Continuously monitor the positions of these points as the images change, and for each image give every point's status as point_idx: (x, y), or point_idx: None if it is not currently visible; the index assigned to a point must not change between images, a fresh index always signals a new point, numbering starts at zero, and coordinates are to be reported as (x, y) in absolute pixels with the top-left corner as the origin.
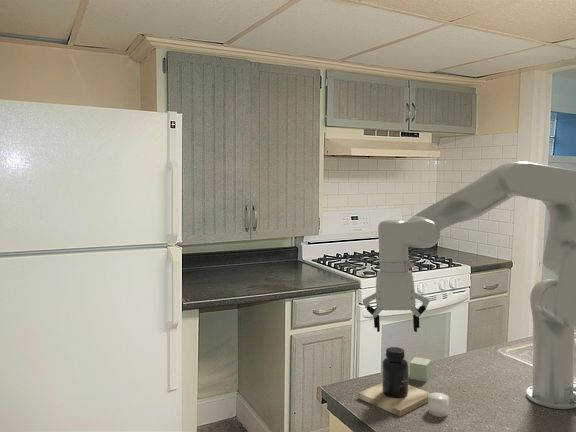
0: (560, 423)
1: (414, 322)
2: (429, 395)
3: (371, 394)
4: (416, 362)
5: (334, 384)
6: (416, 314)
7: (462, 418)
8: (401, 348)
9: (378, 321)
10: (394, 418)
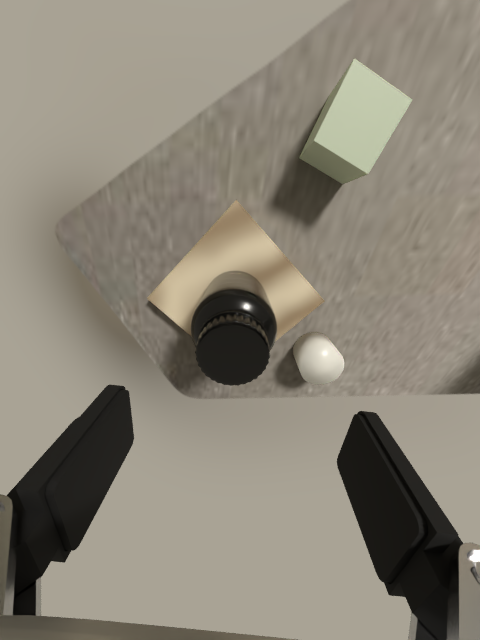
0: None
1: (365, 532)
2: (304, 360)
3: (178, 306)
4: (340, 139)
5: (77, 210)
6: (430, 626)
7: (346, 370)
8: (262, 339)
9: (88, 517)
10: None
